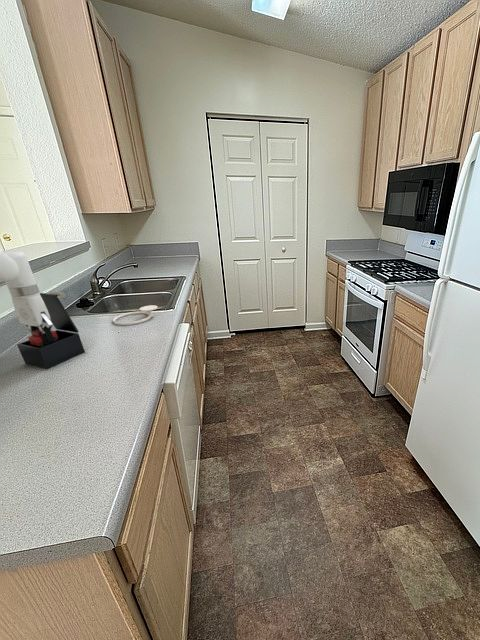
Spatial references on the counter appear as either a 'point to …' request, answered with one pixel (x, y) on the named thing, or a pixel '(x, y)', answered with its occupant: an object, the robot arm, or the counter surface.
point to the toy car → (37, 338)
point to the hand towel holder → (145, 308)
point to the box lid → (58, 311)
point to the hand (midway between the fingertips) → (44, 341)
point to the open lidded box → (52, 350)
